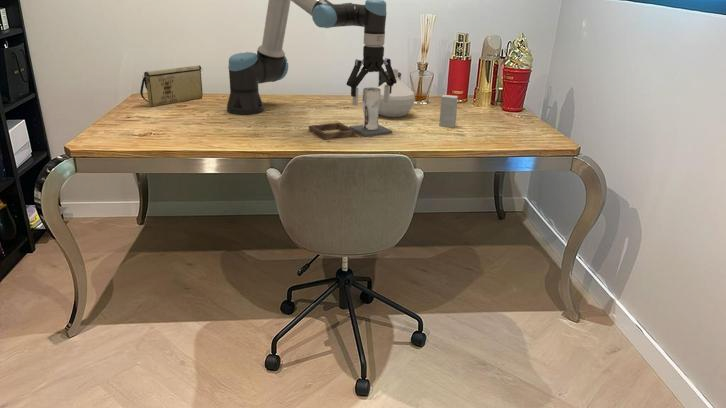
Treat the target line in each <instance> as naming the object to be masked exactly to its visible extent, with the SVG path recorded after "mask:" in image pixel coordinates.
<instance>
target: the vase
mask: <svg viewBox="0 0 726 408" xmlns="http://www.w3.org/2000/svg"><path fill="white" fill-rule="evenodd" d="M392 70H393V73H394V75H395V78H396V81H397V83H396V84H395V83H394V85H393V86H392V89H391V94H390V96H389V103H385V102H384V87H385V85H387V83H386V82H385V83H383V84H382V85H381V86H379V87H377V88H379V89H381V105H380V110H379V115H381V116H382V117H387V118H402V117H404V116H405V115H407V114H408V113H409V112H410V111H411V109H412V108H413V106H414V103H415V101H416V95H415V92H414V91H413V90H411V89H410V87H408V86H407V85H406V84H405V83H404V82H403V81H402V80H400V79H399V78H398V72H399V68H392ZM389 79H390V78H389Z"/></svg>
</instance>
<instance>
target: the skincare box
mask: <svg viewBox="0 0 726 408" xmlns="http://www.w3.org/2000/svg"><path fill="white" fill-rule="evenodd" d="M458 100H459V95H452V94H443V95H442V96H441V100H440V112H439V127H445V128H454V127H455V126H456V124H457V113H458V112H457V111H458Z"/></svg>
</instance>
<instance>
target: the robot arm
mask: <svg viewBox="0 0 726 408" xmlns="http://www.w3.org/2000/svg"><path fill="white" fill-rule="evenodd" d="M291 2H293V3H294V4H295V5H296V6H297V7H299V8H300V9H302V10H303V11H305V12H306V13H308V15H309V16H311V17H312V21H313V23H314V25H315V26H317V28H324V29H329V28H338V27H352V26H353V27H361V28H363V44H364V45H363V49H362V53H363V54H362V55H363V58H362V59H361V60H360V59H355V61H354V65H353V68H352V70H351V73H350V75H349V77H348V79H347V81H346V84H345V85H346V86H347V87H350V96H351V97H352V106H355V107H358V106H359V90H360V89H359V88H358V86H359V85H360V83H361V82H362V81H363V80H364V78H365V77H366V75H367V74H368V73H378V74H379V73H380V75H381V76H382V78H383V79H384V81H385V82H386V83H387V85H385V87H384V102H385V103H389V96H390V94H391V89H392V86H393V85H394V83H395V84H396V83H397V81H396V78H395V75H394V73H393V70H392V69H393V68H392V60H391V59H390V58H388V57H385V58H384V56H385V47H384V45H385V41H386V40H385V39H386V38H385V37H386V21H387V20H386V19H387V2H386V1H385V0H365V2H364V4H358V3H352V2H344V3H343V2H342V3H339V4H338V3H332V2H330V1H329V0H268V4H267V9H266V16H265V22H264V29H263V37H262V41H261V42H262V43H261V45H259V46H258V47H257V50H256V52H251V51H250V52H248V51H246V52H240V53H234V54H233V55H231V56H230V57H229V59H228V75H229V78H228V79H229V89H230V90H229V91H230V92H229V97H228V101H227V103H226V104H227V105H226V111H227V112H228V113H231V114H234V115H255V114H259V113H260V114H261V113H262V112H264V103H263V101H262V98H261V95H260V92H259V84H260V85H261V84H265V83H266V84H267V83H273V82H274V83H275V82H278V81H280V80H282V79H284V78H285V77H286V76H287V74H288V71H289V62H288V58H287V56H286V53H285V51H284V50H283V46H284V41H285V35H286V28H287V23H288V17H289V12H290V8H291V7H290V5H291ZM383 65H384V68H385V69H386V70H385V69H384V68H383ZM362 66H363V67H362ZM361 67H362V68H361ZM385 71H387V73H388V76H389V77H388V76H387V74H386V73H385ZM389 78H390V79H389Z"/></svg>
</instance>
